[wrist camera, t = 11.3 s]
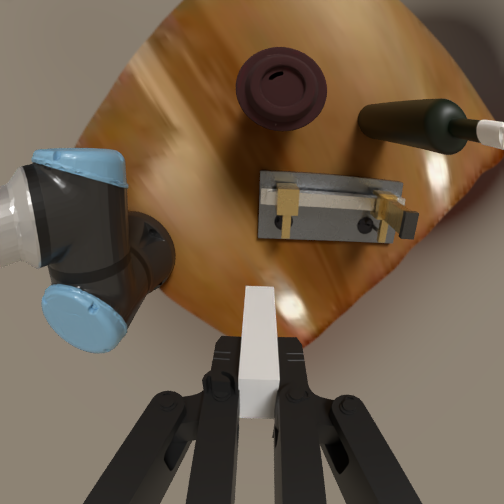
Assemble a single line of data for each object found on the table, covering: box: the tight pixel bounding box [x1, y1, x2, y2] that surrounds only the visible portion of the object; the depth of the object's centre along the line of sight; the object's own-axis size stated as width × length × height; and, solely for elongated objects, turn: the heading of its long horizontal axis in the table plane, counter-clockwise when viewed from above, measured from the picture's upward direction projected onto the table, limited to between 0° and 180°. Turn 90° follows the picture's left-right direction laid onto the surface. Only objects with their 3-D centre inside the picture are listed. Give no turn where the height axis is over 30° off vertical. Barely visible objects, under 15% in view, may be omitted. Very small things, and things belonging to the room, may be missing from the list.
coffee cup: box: [236, 47, 327, 131], centre depth 33 cm, size 10×10×15 cm
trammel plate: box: [258, 170, 405, 243], centre depth 44 cm, size 24×11×6 cm, turn 89°
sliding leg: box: [370, 190, 419, 243], centre depth 40 cm, size 3×8×12 cm, turn 179°
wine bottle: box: [358, 99, 504, 155], centre depth 27 cm, size 6×6×30 cm
